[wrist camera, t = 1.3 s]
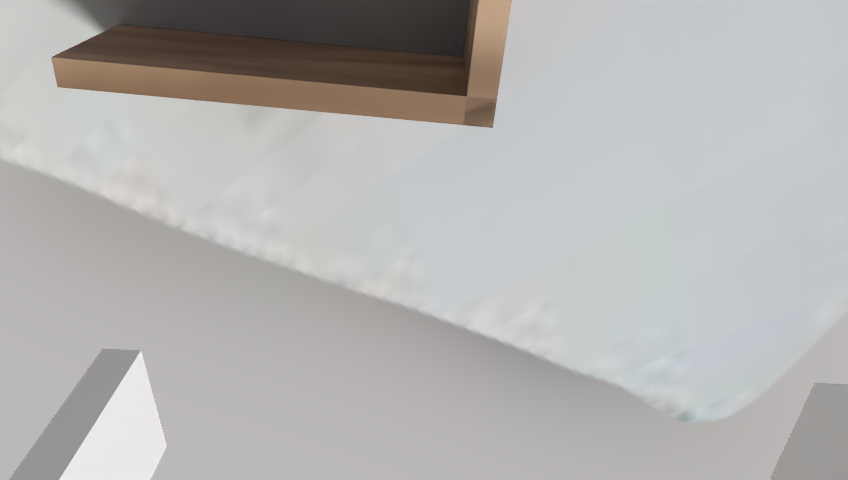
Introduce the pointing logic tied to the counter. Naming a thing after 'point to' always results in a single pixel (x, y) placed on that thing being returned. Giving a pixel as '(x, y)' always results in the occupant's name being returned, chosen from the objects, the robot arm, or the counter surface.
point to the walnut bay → (299, 71)
